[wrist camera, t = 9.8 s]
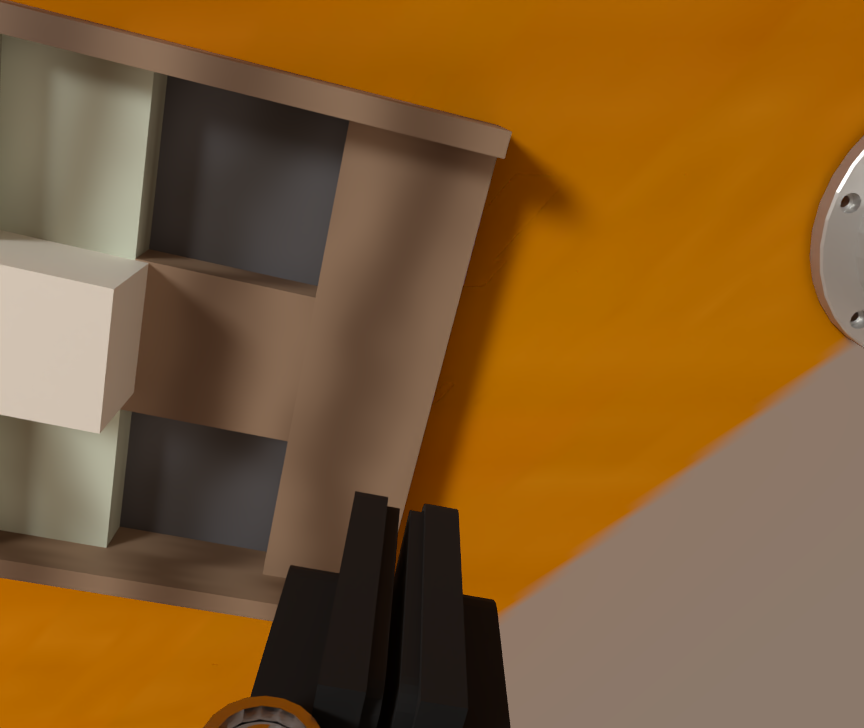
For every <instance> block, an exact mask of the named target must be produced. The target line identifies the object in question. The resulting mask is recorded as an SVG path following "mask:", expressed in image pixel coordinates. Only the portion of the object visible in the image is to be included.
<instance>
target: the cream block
mask: <svg viewBox="0 0 864 728" xmlns="http://www.w3.org/2000/svg"><path fill="white" fill-rule="evenodd" d="M148 264H149V263H146V262H141V261H137V260H132V259H128V258H123V257H119V256H114V255H110V254H105V253H101V252H96V251H92V250H87V249H83V248H78V247H74V246H69V245H65V244H60V243H56V242H52V241H47V240H43V239H38V238H34V237H29V236H25V235H20V234H16V233H11V232H7V231H2V230H0V415H5V416H10V417H15V418H20V419H25V420H31V421H36V422H41V423H46V424H51V425H57V426H62V427H67V428H72V429H77V430H83V431H88V432H93V433H98V434H100V433H101V431H102V430H103V429H104V428H105V427H106V425H107V424H108V423H109V422H110V421H111V419H112V418H113V417H114V416H115V415H116V414H117V412H118V411H119V410H120V409H121V408H122V406H123V405H124V404H125V403H126V402H127V400H128V399H129V398H130V397H131V396H132V394H133V393H134V386H135V378H136V369H137V360H138V352H139V343H140V334H141V325H142V317H143V308H144V299H145V290H146V282H147V273H148Z"/></svg>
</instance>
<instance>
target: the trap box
mask: <svg viewBox="0 0 864 728" xmlns="http://www.w3.org/2000/svg"><path fill="white" fill-rule="evenodd" d="M511 133H512V132H511V131H509V130H507V129H505V128H503V127H501V126H498V125H495V124H491V123H487V122H483V121H479V120H475V119H471V118H467V117H463V116H459V115H456V114H452V113H448V112H444V111H440V110H436V109H432V108H428V107H424V106H420V105H416V104H412V103H408V102H404V101H401V100H397V99H393V98H389V97H385V96H381V95H377V94H373V93H369V92H365V91H361V90H357V89H353V88H350V87H346V86H342V85H338V84H334V83H330V82H326V81H322V80H318V79H314V78H310V77H306V76H302V75H298V74H295V73H291V72H287V71H283V70H279V69H275V68H271V67H267V66H263V65H259V64H255V63H251V62H247V61H243V60H240V59H236V58H232V57H228V56H224V55H220V54H216V53H212V52H208V51H204V50H200V49H196V48H192V47H189V46H185V45H181V44H177V43H173V42H169V41H165V40H161V39H157V38H153V37H149V36H145V35H141V34H137V33H134V32H130V31H126V30H122V29H118V28H114V27H110V26H106V25H102V24H98V23H94V22H90V21H86V20H82V19H79V18H75V17H71V16H67V15H63V14H59V13H55V12H51V11H47V10H43V9H39V8H35V7H31V6H28V5H24V4H20V3H16V2H12V1H8V0H0V230H2V231H7V232H11V233H16V234H20V235H25V236H29V237H34V238H38V239H43V240H47V241H52V242H56V243H60V244H65V245H69V246H74V247H78V248H83V249H87V250H92V251H96V252H101V253H105V254H110V255H114V256H119V257H123V258H128V259H132V260H137V261H141V262H146V263H149V264H148V273H147V282H146V290H145V299H144V308H143V317H142V325H141V334H140V343H139V352H138V360H137V369H136V378H135V386H134V393H133V394H132V396H131V397H130V398H129V399H128V400H127V402H126V403H125V404H124V405H123V406H122V408H121V409H120V410H119V411H118V412H117V414H116V415H115V416H114V417H113V418H112V419H111V421H110V422H109V423H108V424H107V425H106V427H105V428H104V429H103V430H102V431H101V433H100V434H98V433H93V432H88V431H83V430H77V429H72V428H67V427H62V426H57V425H51V424H46V423H41V422H36V421H31V420H25V419H20V418H15V417H10V416H5V415H0V578H6V579H12V580H18V581H25V582H31V583H37V584H43V585H50V586H56V587H62V588H68V589H75V590H81V591H87V592H93V593H100V594H106V595H112V596H118V597H125V598H131V599H137V600H143V601H150V602H156V603H162V604H168V605H175V606H181V607H187V608H193V609H200V610H206V611H212V612H218V613H225V614H231V615H237V616H243V617H250V618H256V619H262V620H268V621H273V620H274V616H275V613H276V610H277V606H278V603H279V600H280V596H281V593H282V590H283V586H284V583H285V580H286V576H287V573H288V570H289V567H290V565H294V566H300V567H306V568H312V569H317V570H323V571H329V572H335V573H339V572H340V567H341V562H342V557H343V551H344V546H345V541H346V536H347V531H348V526H349V521H350V516H351V511H352V505H353V500H354V495H355V491H358V492H363V493H369V494H374V495H380V496H386V497H388V505H387V506H390V507H395V508H400V514H399V526H400V523H401V519H402V515H403V511H404V507H405V504H406V500H407V496H408V492H409V488H410V485H411V481H412V477H413V473H414V470H415V466H416V462H417V458H418V454H419V451H420V447H421V443H422V439H423V435H424V432H425V428H426V424H427V420H428V416H429V413H430V409H431V405H432V401H433V398H434V394H435V390H436V386H437V382H438V379H439V375H440V371H441V367H442V363H443V360H444V356H445V352H446V348H447V344H448V341H449V337H450V333H451V329H452V326H453V322H454V318H455V314H456V310H457V307H458V303H459V299H460V295H461V291H462V288H463V284H464V280H465V276H466V272H467V269H468V265H469V261H470V257H471V254H472V250H473V246H474V242H475V238H476V235H477V231H478V227H479V223H480V219H481V216H482V212H483V208H484V204H485V201H486V197H487V193H488V189H489V185H490V182H491V178H492V174H493V170H494V166H495V163H496V159H497V157H498V158H502V159H505V156H506V152H507V148H508V144H509V141H510V137H511ZM399 526H398V530H399Z"/></svg>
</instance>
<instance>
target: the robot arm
mask: <svg viewBox="0 0 864 728" xmlns="http://www.w3.org/2000/svg"><path fill="white" fill-rule="evenodd" d="M843 198H844V200H843V202H842V204H841V201H842V199H843ZM810 262H811V272H812V281H813V284H814V287H815V290H816V293H817V296H818V299H819V302H820V304H821V306H822V307H823V309H824V311H825V312H826V314H827V316H828V317H829V319H830V320H831V322H832V323H833V324H834V325H835V326H836V327H837V328H838V329H839V330H840V331H841V332H842V333H843V334H844V335H845V336H846V337H847V338H849V339H850V340H852V341H854V342H855V343H857V344H858V345H860V346H862V347H863V348H864V136H863V137H862V138H861V139H860V140H859V141H858V142H857V143H856V144H855V146H854V147H853V148H852V149H851V150H850V151H849V152H848V154H847V155H846V157H845V158H844V160H843V161H842V163H841V164H840V166H839V167H838V169H837V170H836V172H835V173H834V174H833V176H832V178H831V180H830V182H829V184H828V187H827V189H826V191H825V193H824V195H823V197H822V199H821V201H820V204H819V208H818V211H817V215H816V218H815V222H814V225H813V229H812V238H811V249H810ZM387 505H388V497H386V496H380V495H374V494H369V493H363V492H358V491H355V495H354V500H353V505H352V511H351V516H350V521H349V526H348V531H347V536H346V541H345V546H344V551H343V557H342V562H341V567H340V572H339V573H335V572H329V571H323V570H317V569H312V568H306V567H300V566H294V565H290V567H289V570H288V573H287V576H286V580H285V583H284V586H283V590H282V593H281V596H280V600H279V603H278V606H277V610H276V613H275V616H274V620H273V623H272V626H271V630H270V633H269V636H268V640H267V643H266V647H265V650H264V653H263V657H262V660H261V663H260V667H259V670H258V673H257V677H256V680H255V683H254V687H253V690H252V693H251V697H247V698H244V699H241V700H238V701H236V702H233V703H230V704H228V705H227V706H225V707H224V708H222V709H221V710H219V711H218V712H217V713H215V714H214V715H213V716H212V717H211V718H210V720H209V721H208V722H207V723H206V725H205V726H204V727H203V728H510V719H509V711H508V702H507V694H506V684H505V676H504V667H503V658H502V649H501V640H500V631H499V622H498V613H497V607H496V603H495V601H494V600H492V599H486V598H480V597H474V596H469V595H463V592H462V572H461V552H460V532H459V513H458V510H457V509H452V508H447V507H441V506H436V505H430V504H424V506H423V509H422V512H418V511H412V510H410V512H409V515H408V519H407V523H406V528H405V532H404V537H403V541H402V545H401V550H400V554H399V559H398V563H397V567H396V572H395V561H396V549H397V537H398V526H399V514H400V508H395V507H390V506H387ZM394 573H395V576H394Z"/></svg>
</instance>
